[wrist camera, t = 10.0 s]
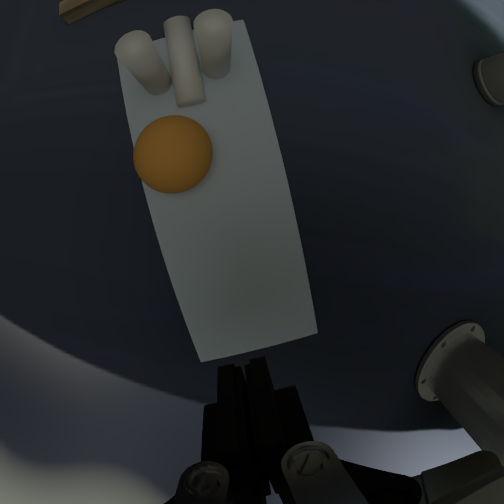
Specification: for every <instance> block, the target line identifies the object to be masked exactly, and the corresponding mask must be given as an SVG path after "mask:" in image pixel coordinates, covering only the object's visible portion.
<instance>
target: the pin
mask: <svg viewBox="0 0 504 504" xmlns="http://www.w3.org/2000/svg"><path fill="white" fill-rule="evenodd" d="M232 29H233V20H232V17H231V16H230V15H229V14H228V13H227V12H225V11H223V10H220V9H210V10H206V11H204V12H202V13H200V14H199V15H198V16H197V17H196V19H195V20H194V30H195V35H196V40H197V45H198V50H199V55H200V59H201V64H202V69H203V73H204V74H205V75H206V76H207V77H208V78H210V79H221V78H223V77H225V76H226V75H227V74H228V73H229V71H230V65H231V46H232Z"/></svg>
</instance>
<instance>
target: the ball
mask: <svg viewBox="0 0 504 504" xmlns="http://www.w3.org/2000/svg"><path fill="white" fill-rule="evenodd" d="M212 156H213V149H212V143H211V140H210V137H209V135H208V134H207V132H206V131H205V129H204V128H203V127H202V126H201V125H200V124H199V123H198V122H196V121H194V120H193V119H191V118H188V117H185V116H180V115H169V116H164V117H161V118H158V119H156V120H154V121H153V122H151V123H150V124H149V125H147V126H146V127H145V128H144V129H143V131H142V132H141V133H140V135H139V136H138V138H137V141H136V143H135V147H134V153H133V160H134V166H135V169H136V171H137V173H138V175H139V177H140V178H141V180H142V181H143V182H144V183H145V184H146V185H147V186H149V187H150V188H152V189H154V190H156V191H158V192H162V193H167V194H176V193H181V192H185V191H187V190H189V189H191V188H193V187H194V186H196V185H197V184H198V183H199V182H201V180H202V179H203V178H204V177H205V176H206V174H207V172H208V170H209V168H210V166H211V162H212Z"/></svg>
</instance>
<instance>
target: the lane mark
mask: <svg viewBox="0 0 504 504" xmlns="http://www.w3.org/2000/svg"><path fill="white" fill-rule="evenodd" d="M192 33H193V38H194V43H195V48H196V53H197V58H198V63H199V68H200V73H201V78H202V83H203V88H204V93H205V98H206V101H205V102H203V103H200V104H196V105H191V106H187V107H178V106H177V102H176V97H175V92H174V86H173V81H172V84H171V87H170V89H169V90H168V91H167V92H166V93H164V94H162V95H159V96H154V95H151V94H149V93H148V92H147V91H146V90H145V88H144V87H143V86H142V85H141V84H140V83H139V82H138V80H137V79H136V78H135V77H134V76H133V75H132V74H131V73H130V71H129V70H128V69H127V68H126V67H125V66H124V65H123V64H122V63H121V61H120V60H119V59H118V58H117V60H118V67H119V73H120V79H121V85H122V91H123V97H124V102H125V107H126V113H127V118H128V123H129V127H130V132H131V137H132V141H133V146H134V147H135V143H136V141H137V138H138V136H139V135H140V133H141V132H142V131H143V129H144V128H145V127H146V126H147V125H149V124H150V123H151V122H153V121H154V120H156V119H158V118H161V117H164V116H169V115H180V116H185V117H188V118H191V119H193V120H194V121H196V122H198V123H199V124H200V125H201V126H202V127H203V128H204V129H205V131H206V132H207V134H208V135H209V137H210V140H211V143H212V149H213V156H212V162H211V166H210V168H209V170H208V172H207V174H206V176H205V177H204V178H203V179H202V180H201V182H199V183H198V184H197V185H196V186H194V187H193V188H191V189H189V190H187V191H185V192H181V193H176V194H167V193H162V192H158V191H156V190H154V189H152V188H150V187H149V186H147V185H146V184H145V183H144V182H143V181H142V184H143V187H144V191H145V195H146V199H147V203H148V206H149V210H150V213H151V217H152V221H153V224H154V228H155V231H156V234H157V238H158V241H159V244H160V248H161V251H162V254H163V257H164V260H165V264H166V267H167V270H168V273H169V276H170V279H171V282H172V285H173V288H174V291H175V294H176V297H177V300H178V302H179V305H180V308H181V311H182V314H183V316H184V319H185V322H186V325H187V327H188V330H189V333H190V335H191V338H192V341H193V343H194V346H195V348H196V351H197V353H198V356H199V359H200V361H201V362H205V361H209V360H214V359H219V358H223V357H228V356H232V355H237V354H241V353H245V352H249V351H253V350H257V349H261V348H265V347H269V346H273V345H277V344H281V343H284V342H288V341H292V340H295V339H299V338H302V337H306V336H309V335H313V334H316V333H318V331H317V325H316V320H315V314H314V308H313V303H312V297H311V292H310V286H309V281H308V276H307V270H306V265H305V260H304V255H303V250H302V245H301V240H300V236H299V231H298V226H297V222H296V217H295V212H294V208H293V203H292V199H291V194H290V190H289V186H288V181H287V177H286V173H285V169H284V164H283V160H282V156H281V152H280V148H279V144H278V140H277V136H276V132H275V128H274V124H273V121H272V117H271V113H270V109H269V105H268V102H267V98H266V94H265V91H264V87H263V84H262V80H261V77H260V73H259V70H258V66H257V63H256V59H255V56H254V53H253V49H252V46H251V43H250V39H249V36H248V33H247V30H246V26H245V23H244V20H239V21H233V29H232V46H231V65H230V71H229V73H228V74H227V75H226V76H225V77H223V78H221V79H210V78H208V77H207V76H206V75H205V74H204V73H203V69H202V64H201V59H200V55H199V50H198V45H197V40H196V35H195V30H192ZM152 42H153V44H154V45H155V47H156V49H157V51H158V53H159V55H160V57H161V59H162V61H163V63H164V65H165V67H166V69H167V71H168V73H169V75H170V76H171V79H172V75H171V69H170V63H169V58H168V52H167V46H166V39H165V38H162V39H158V40H155V41H152Z"/></svg>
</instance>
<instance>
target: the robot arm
mask: <svg viewBox="0 0 504 504" xmlns="http://www.w3.org/2000/svg"><path fill="white" fill-rule="evenodd" d="M245 374H246V381H245V378H244V375H243V372H242V369H241V367H240V366H238V367H235V365H234V364H229V365H224V366H219V367H218V387H217V403H214V404H208V405H205V406H204V414H203V431H202V451H201V462H199V463H196V464H193V465H192V466H190V467H188V468H187V469H186V470H185V471H184V472H183V474H182V475H181V477H180V480H179V483H178V487H177V490H176V494H175V496H174V497H172V498H171V499H170V500H169V501H167V502H166V503H164V504H266V496H267V495H271V490H270V484H269V480H270V483H271V485H272V487H273V489H274V491H275V493H276V494H279V496H280V498H281V500H282V502H283V504H504V357H502V356H501V355H500V354H498V353H497V352H496V351H494V350H493V349H492V348H490V347H489V346H488V345H486V344H485V335H484V331H483V329H482V327H481V326H480V325H478V324H477V323H475V322H473V321H469V320H467V321H462V322H459V323H457V324H455V325H453V326H452V327H450V328H448V329H447V330H446V331H445V332H444V333H442V334H441V335H440V336H439V337H438V338H437V339H436V340H435V342H434V343H433V344H432V345H431V347H430V348H429V349H428V351H427V352H426V354H425V355H424V357H423V359H422V361H421V363H420V365H419V368H418V371H417V374H416V379H415V386H416V390H417V392H418V394H419V395H420V396H421V397H422V398H423V399H425V400H427V401H437V400H440V401H441V403H442V404H443V405H444V406H445V407H446V408H447V410H448V411H449V412H450V413H451V414H452V415H453V416H454V418H455V419H456V420H457V421H458V422H459V423H460V425H461V426H462V427H463V428H464V429H465V430H466V432H467V433H468V434H469V435H470V436H471V438H472V439H473V440H474V441H475V442H476V444H477V445H478V446H479V447H480V448H481V450H482V451H478V452H475V453H473V454H470V455H468V456H465V457H463V458H460V459H458V460H455V461H452V462H450V463H447V464H444V465H441V466H438V467H435V468H432V469H429V470H426V471H423V472H422V473H421V474H420V475H417V476H413V477H408V476H406V475H401V474H395V473H391V472H386V471H382V470H378V469H374V468H369V467H366V466H362V465H358V464H354V463H351V462H347V461H344V460H340V459H339V458H338V457H337V455H336V454H335V452H334V451H333V449H331V447H330V446H329V445H327V444H325V443H323V442H317V441H314V440H313V437H312V434H311V431H310V428H309V425H308V422H307V419H306V416H305V413H304V410H303V407H302V404H301V401H300V398H299V395H298V392H297V389H296V386H295V385H293V386H290V387H286V388H282V389H278V390H274V387H273V384H272V380H271V377H270V373H269V370H268V366H267V363H266V359H265V356H263V357H259V358H255V359H250V364H247V365H245ZM246 382H247V384H246Z"/></svg>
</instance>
